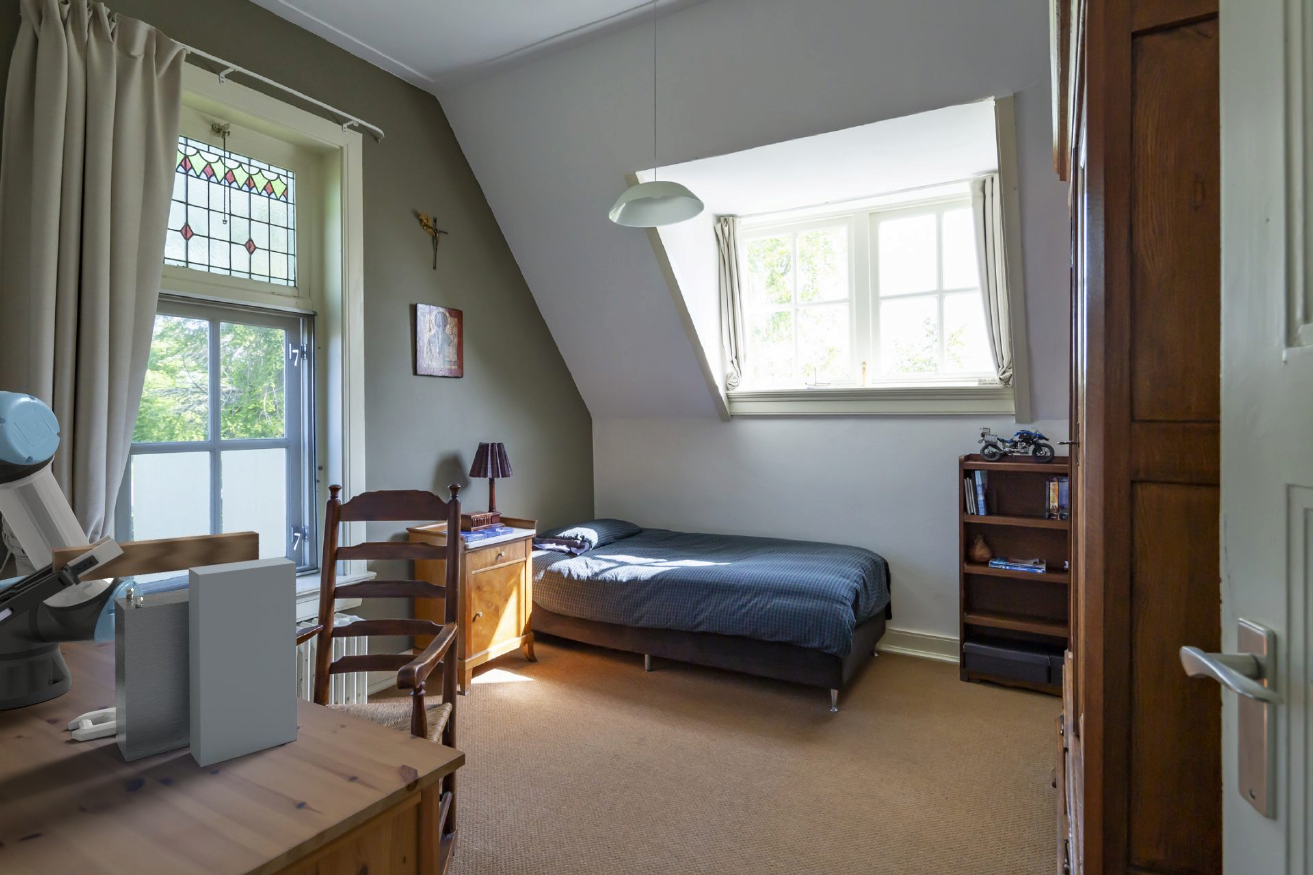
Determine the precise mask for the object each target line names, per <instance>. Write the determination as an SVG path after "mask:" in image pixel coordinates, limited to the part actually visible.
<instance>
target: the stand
mask: <svg viewBox="0 0 1313 875" xmlns="http://www.w3.org/2000/svg"><path fill="white" fill-rule="evenodd" d="M188 589H189V669H190V745H189V747H190V748H189V750H190V751H189V753H190V754H191V756H192V757H193V758H194V760H195V762H197V764H198V765H199V767H200V768H203V767H207V766H210V765H214V764H217V763H220V762H224V761H228V760H232V759H235V758H238V757H241V756H245V755H248V754H253V753H255V752H256V753H257V752H259V751H263V750H266V749H271V748H273V747H276V746H277V747H278V746H280V745H283V744H286V743H291V742H294V741H297V740H298V704H297V703H298V695H297V694H298V692H297V691H298V689H297V688H298V686H297V682H298V681H297V678H298V677H297V676H298V675H297V673H298V672H297V669H298V667H297V666H298V665H297V663H298V662H297V660H298V658H297V657H298V656H297V655H298V654H297V653H298V652H297V648H298V647H297V646H298V645H297V562H296V561H293V560H291V559H289V558H286V557H283V556H277V557H271V558H270V557H269V558H263V559H262V558H259V560H252V561H243V562H235V563H226V564H218V565H210V566H201V567H193V568H189V570H188Z"/></svg>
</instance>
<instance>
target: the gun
mask: <svg viewBox="0 0 1313 875" xmlns="http://www.w3.org/2000/svg"><path fill="white" fill-rule="evenodd" d="M67 727H68V731H69V730H73V731H71V738H72V739H74V740H77V741H80V742H85V741H91V740H95V739H99V738H105V737H110V736H113V735H114V736H116V706H113V707H108V708H104V709H103V708H102V709H97V710H93V711H90V712H89V711H88V712H86V713H83V714H81V715H80V716H78V717H75V718H74V719H72V720H71V721H69V722H68V724H67Z"/></svg>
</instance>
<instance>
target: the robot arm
mask: <svg viewBox="0 0 1313 875" xmlns="http://www.w3.org/2000/svg"><path fill="white" fill-rule="evenodd" d="M59 424H60V423H59V421H58V419H57V417H56V415H55V414H54V412H53V410H52V409H51V407H49V406H48V404H46V403H45V402H44V401H43V400H41V399H39V398H37V397H36V396H33V395H29V394H27V393H21V392H11V391H6V390H0V513H1V514H2V515H3V518H4V520H5V521H6V523H7V524H8V526H9V528H10V529H11V531H12V532H13V534H14V536H15V538H16V539H17V541H18V543H19V544H20V546H21V547H22V549H23V551H24V553H26V555H27V557H28V558H29V561H30V562H31V564H32V566H33V568H34V569H35V571H34V572H32V573H30V574H28V575H27V574H26V575H22V576H16V577H12V578H11V577H10V578H7V579H2V580H0V711H1V710H9V709H16V708H21V707H25V706H31V705H34V704H38V703H42V702H45V701H48V700H51V699H54V698H57V697H59V696H62V695H64V694H66V693H67V692H69V691H70V689H71V688H72V674H71V671H70V670H69V668H68V666H67V663H66V661H65V658H64V656H63V655H62V651H61V648H60V645H61V644H60V643H62V644H63V643H65V644H66V643H67V644H68V643H75V644H76V643H78V644H79V643H80V644H81V643H82V644H84V643H87V644H88V643H90V644H101V643H109V642H110V643H111V642H115V611H114V599H117V598H124V597H126V589H128V588H134V596H139V595H144V592H143V588H142V586H141V584H140V583H139V582H137V581H135V580H131V579H125V580H122V579H120V577H119V578H110V579H101V580H93V581H84V582H81V581H80V580H79V579H78V577H79V578H80V577H81V576H83V575H85V574H87V573H88V572H90V571H92V570H94V569H96V568H97V567H99V566H101V565H103V564H104V563H106V562H108V561H110V560H112V559H113V558H115V557H117V556H119V555H120V554H122V553H124V552H123V550H122V549H121V548H120V546H119V545H118V544H117V543H118V542H117V541H116V540H115V539H114V538H113V537H112V538H111V536H110V535H109V534H107V535H105V536H103V537H101V538H99V539H98V540H96V541H94V542H92V543H90V542H89V539H88V537H87V536H86V534H85V532H84V530H83V528H82V526H81V525H80V522H79V521H78V519H77V517H76V515H75V514H74V511H73V510H72V507H71V506H70V504H69V502H68V500H67V498H66V497H65V494H64V493H63V490H62V489H61V487H60V486H59V483H58V481H57V478H55V476H54V474H53V472H52V470H51V468H50V466H51V464H52V463H53V461H54V460H55V453H56V451H57V450H58V447H59V444H60V439H61V437H59V436H58V433H60V432H61V431H60V425H59ZM98 544H101V545H99V546H97V547H95V548H94V549H92V550H90V551H88V552H86V553H84V554H83V555H81V556H79V557H77V558H75V559H73V560H72V561H70V562H68V563H67V564H68V565H69V566H70V567H69V566H68V565H67V566H63V567H61V569H59V570H57V571H55V572H53V573H52V549H53V548H64V547H75V546H87V545H98ZM77 576H78V577H77Z"/></svg>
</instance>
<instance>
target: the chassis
mask: <svg viewBox="0 0 1313 875" xmlns="http://www.w3.org/2000/svg"><path fill="white" fill-rule="evenodd" d="M114 611H115V641H114V679H115V680H114V682H115V684H114V685H115V686H114V689H115V691H114V692H115V693H114V694H115V698H114V699H115V707H116V734H115V742H116V744H117V747H118V749H119V751H120V753H121V755H122V756H123V758H124V761H125V763H128V762H131V761H135V760H140V759H143V758H147V757H151V756H155V755H158V754H162V753H166V752H169V751H174V750H177V749H180V748H184V747H188V746H189V747H190V669H189V588H184V589H175V590H170V591H163V592H162V591H160V592H155V593H146V594H143V595H139V596H134V588H128V589H126V597H124V598H117V599H114Z"/></svg>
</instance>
